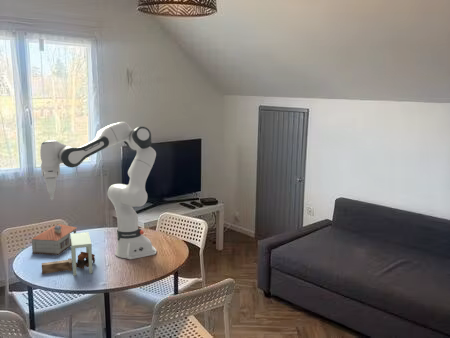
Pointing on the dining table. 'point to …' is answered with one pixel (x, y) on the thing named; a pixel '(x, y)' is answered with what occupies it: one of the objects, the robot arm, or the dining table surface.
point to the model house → (53, 240)
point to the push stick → (57, 266)
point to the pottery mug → (81, 262)
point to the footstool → (79, 242)
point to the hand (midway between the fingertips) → (52, 197)
